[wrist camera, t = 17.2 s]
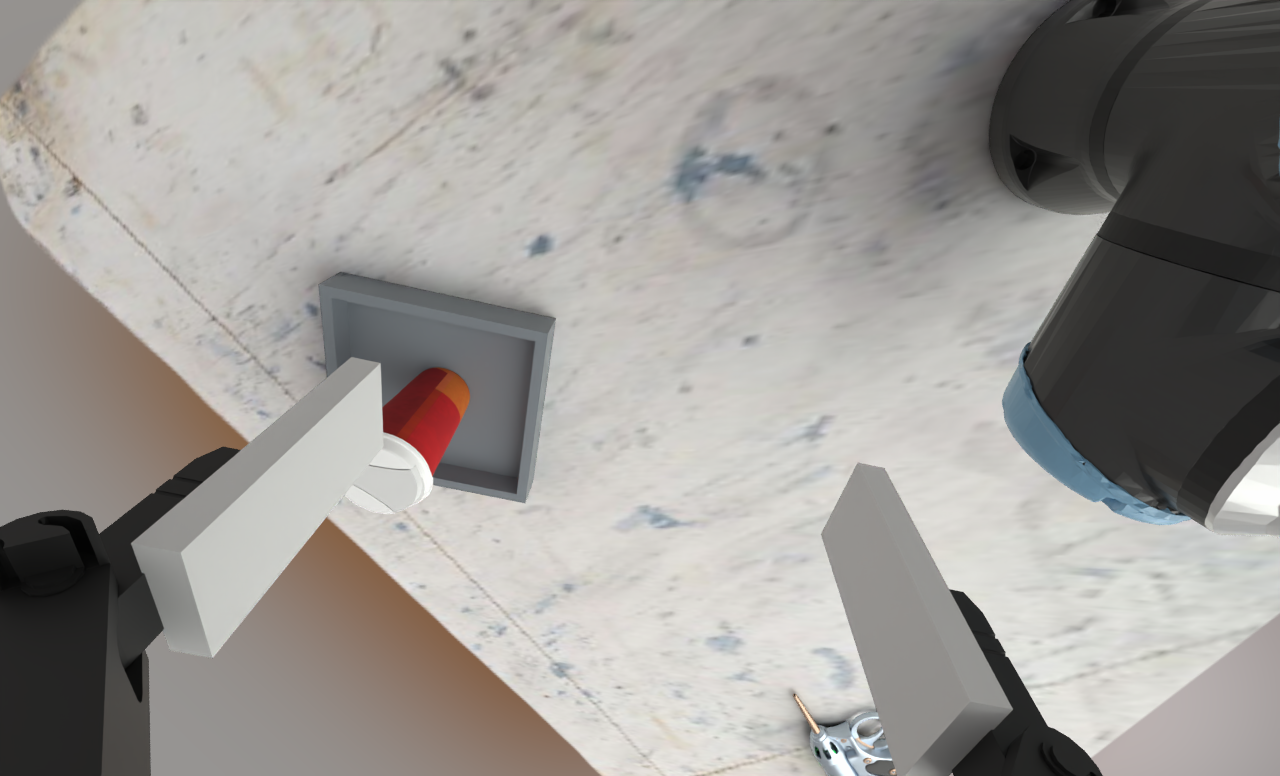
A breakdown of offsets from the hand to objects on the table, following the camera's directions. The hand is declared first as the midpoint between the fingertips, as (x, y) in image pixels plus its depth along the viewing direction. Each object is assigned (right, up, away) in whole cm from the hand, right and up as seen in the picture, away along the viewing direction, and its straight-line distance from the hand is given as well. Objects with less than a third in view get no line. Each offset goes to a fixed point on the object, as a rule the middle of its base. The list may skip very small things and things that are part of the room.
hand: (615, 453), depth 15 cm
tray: (-19, +2, +40) cm, 44 cm away
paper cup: (-19, +1, +39) cm, 44 cm away
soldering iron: (+34, -49, +66) cm, 88 cm away
